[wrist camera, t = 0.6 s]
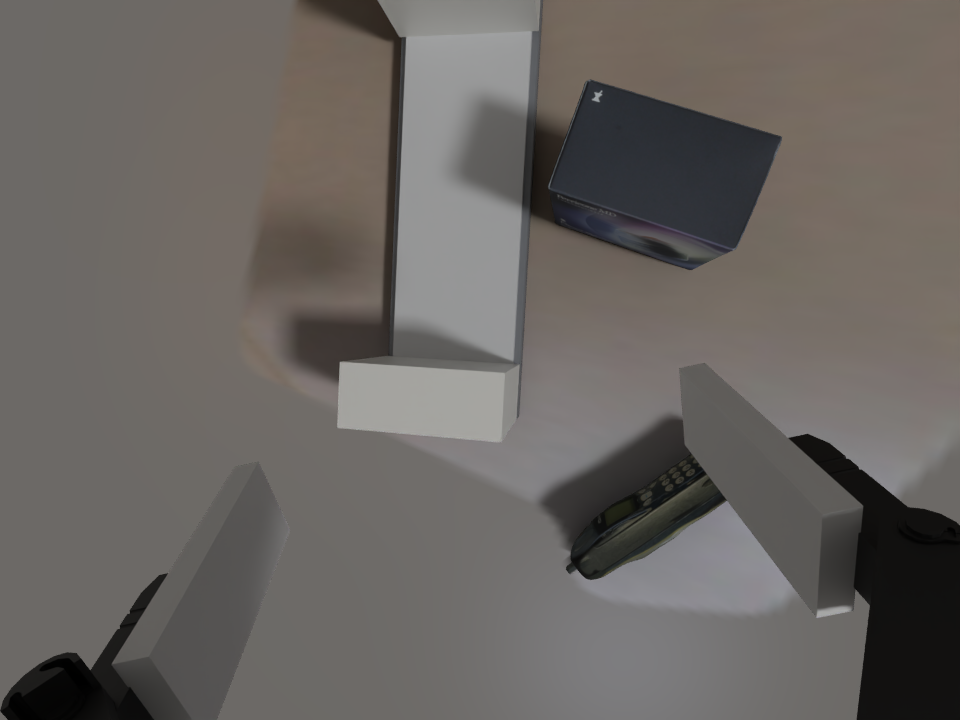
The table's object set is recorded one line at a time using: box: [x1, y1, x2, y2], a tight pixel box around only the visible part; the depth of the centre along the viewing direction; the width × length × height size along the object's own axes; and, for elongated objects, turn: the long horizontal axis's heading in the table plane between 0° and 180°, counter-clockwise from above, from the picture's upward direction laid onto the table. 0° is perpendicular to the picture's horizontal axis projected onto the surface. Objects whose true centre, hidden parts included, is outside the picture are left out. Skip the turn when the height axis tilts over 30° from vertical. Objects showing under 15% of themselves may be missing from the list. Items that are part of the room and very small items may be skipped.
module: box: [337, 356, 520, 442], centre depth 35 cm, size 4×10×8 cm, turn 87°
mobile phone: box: [566, 454, 727, 580], centre depth 37 cm, size 5×3×15 cm
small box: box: [548, 80, 782, 270], centre depth 33 cm, size 11×6×10 cm, turn 70°
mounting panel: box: [389, 0, 543, 418], centre depth 39 cm, size 31×10×2 cm, turn 177°
